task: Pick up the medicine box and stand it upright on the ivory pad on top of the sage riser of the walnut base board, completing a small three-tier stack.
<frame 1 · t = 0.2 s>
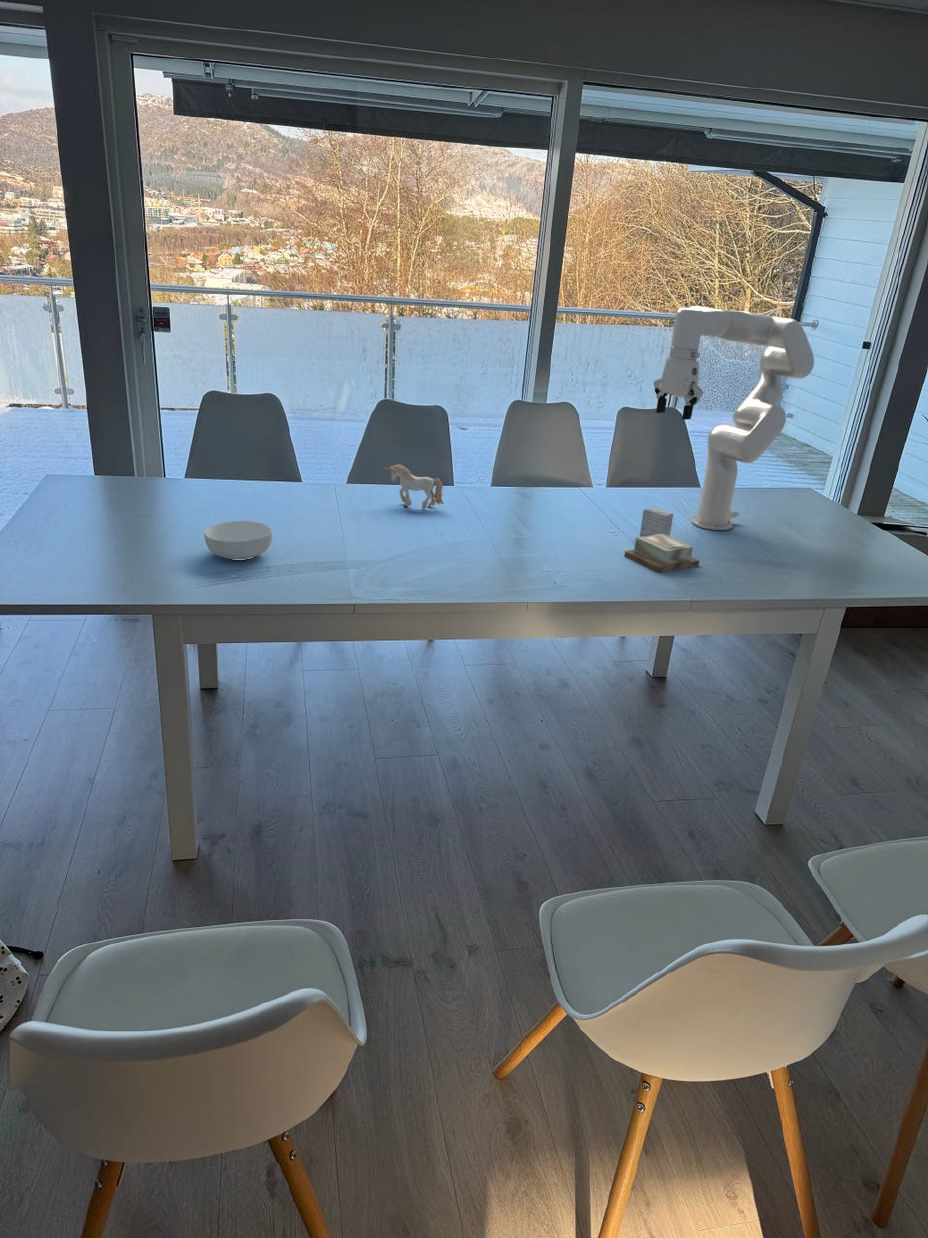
hand: (673, 415, 255), 36 cm above the table, tool pointing down, fingers open, 9 cm apart
unicorn figurine: (412, 509, 277), on the table
medicine box: (654, 539, 265), on the table
cereal bowl: (239, 556, 231), on the table
base board: (661, 560, 247), on the table
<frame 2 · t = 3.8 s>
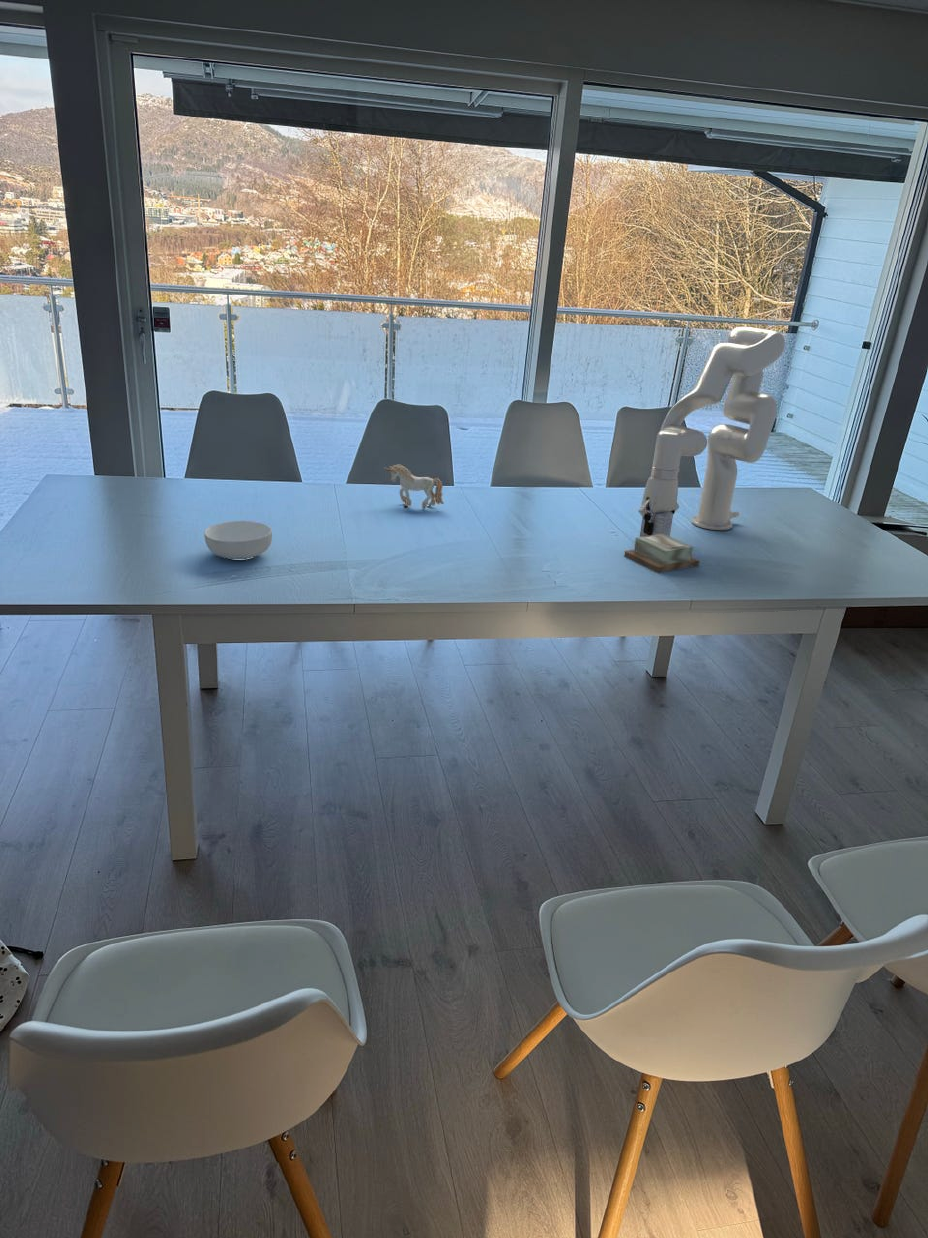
hand: (655, 532, 264), 2 cm above the table, tool pointing down, fingers closed on medicine box, 5 cm apart
medicine box: (654, 539, 265), on the table, touching gripper
everything else where it was.
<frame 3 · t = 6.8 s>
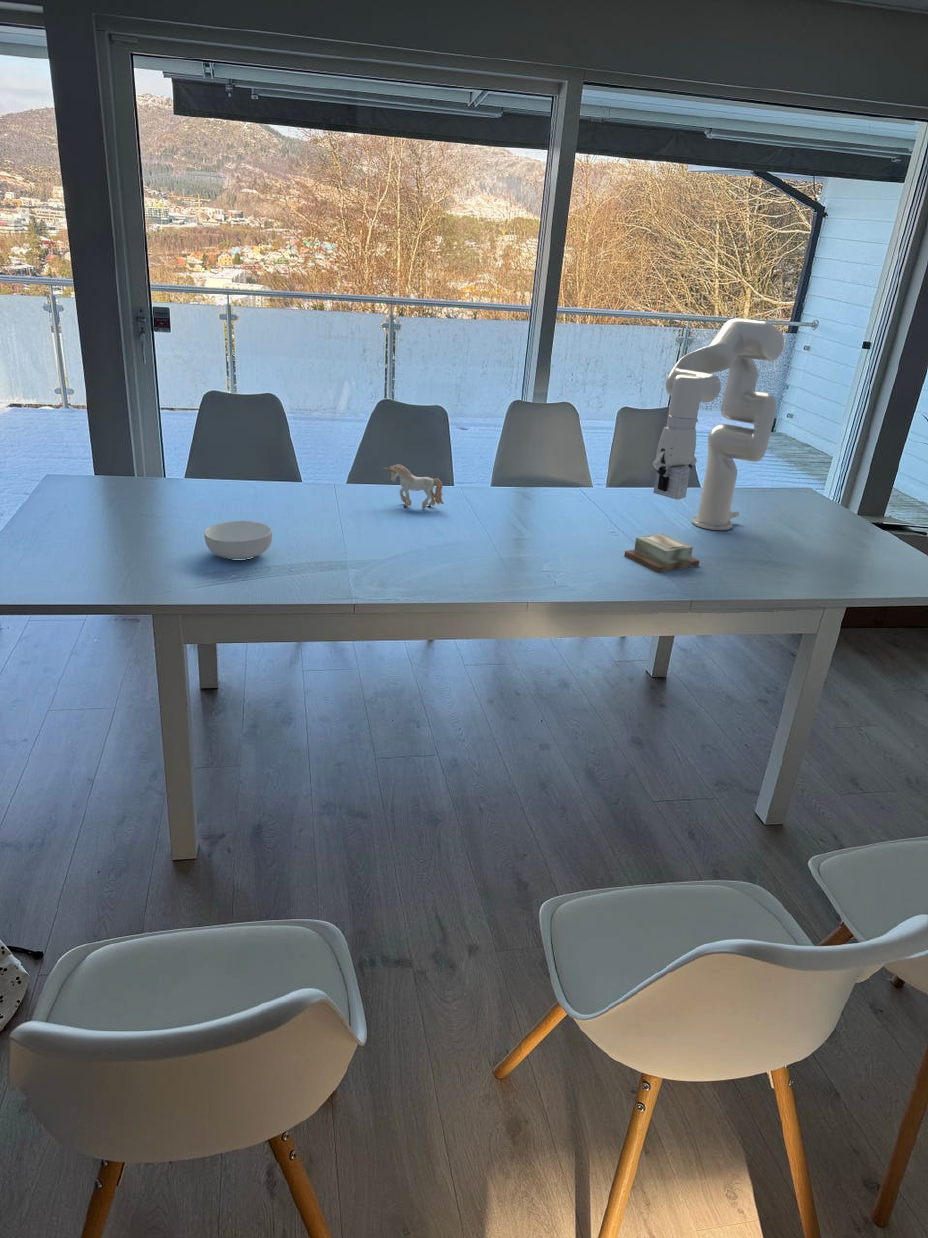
hand: (670, 488, 242), 20 cm above the table, tool pointing down, fingers closed on medicine box, 5 cm apart
medicine box: (669, 496, 243), point 18 cm above the table, touching gripper
everything else where it was.
when the fingers open (9 cm above the table, at t = 10.1 s): medicine box drops 1 cm, resting on base board.
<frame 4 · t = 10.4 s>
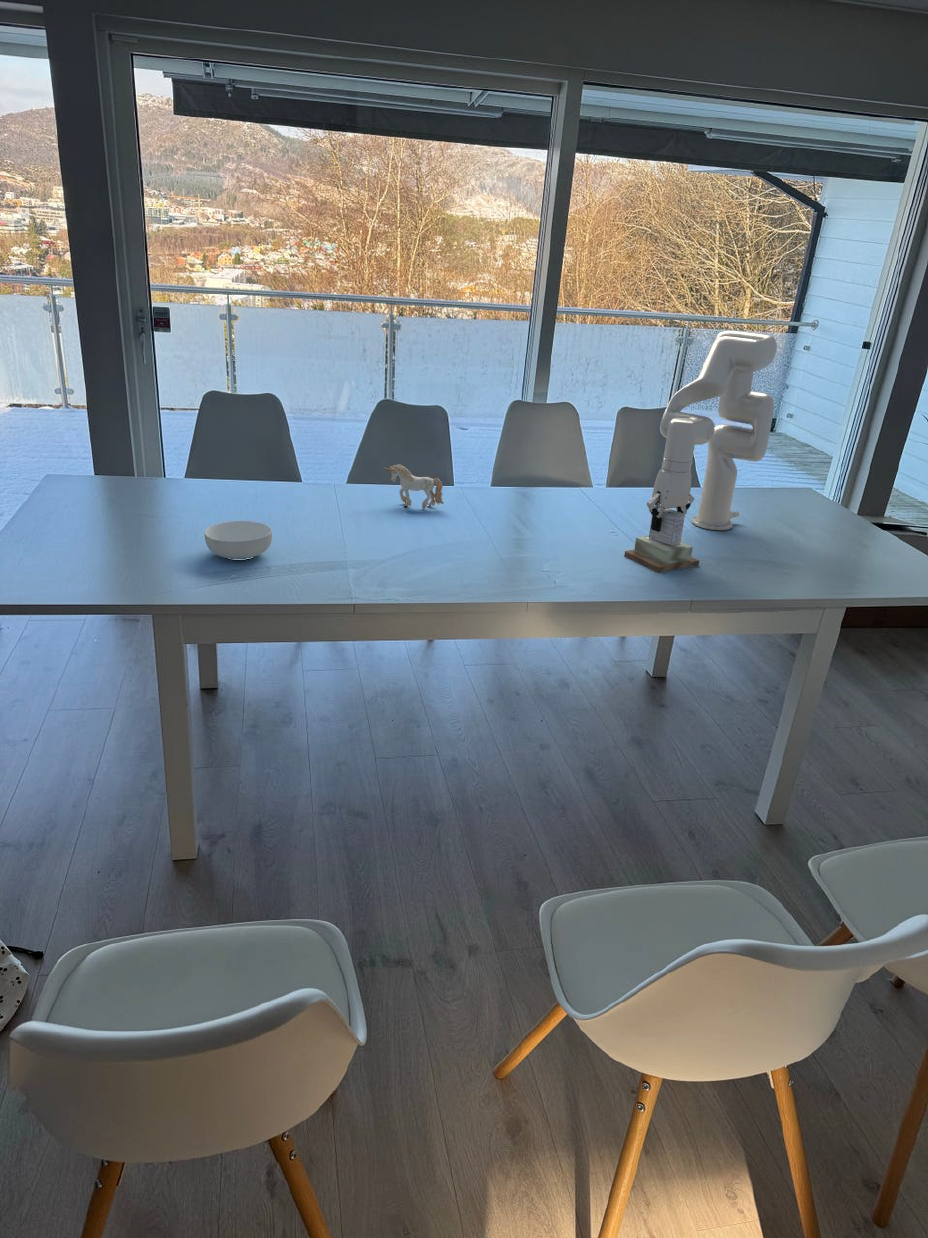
hand: (666, 528, 244), 10 cm above the table, tool pointing down, fingers open, 7 cm apart
medicine box: (664, 541, 245), point 6 cm above the table, touching base board
everything else where it was.
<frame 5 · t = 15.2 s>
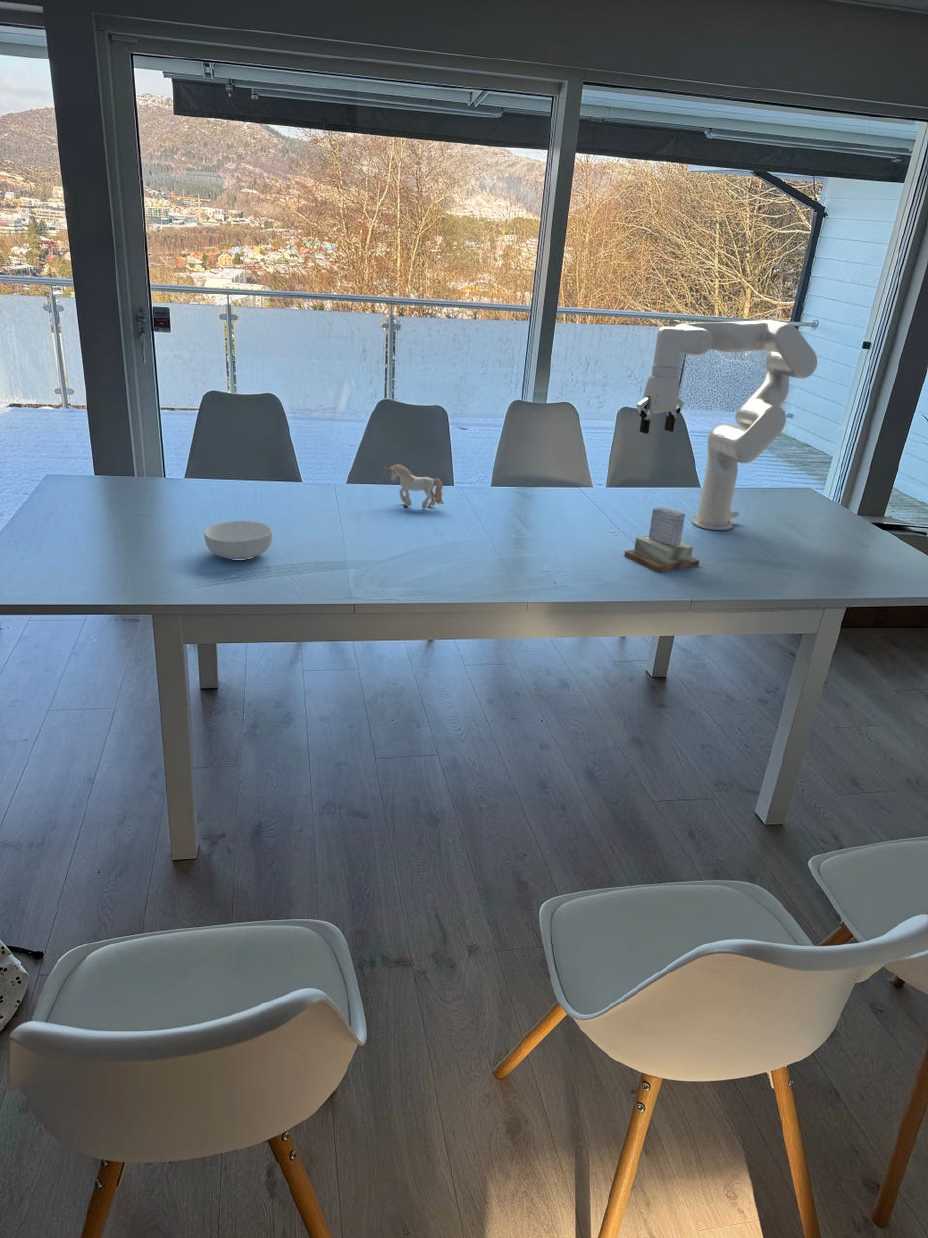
hand: (656, 431, 260), 30 cm above the table, tool pointing down, fingers open, 9 cm apart
nothing on the table moved.
at the end: medicine box inside the target area on the base board (0.1 cm from its centre), point 5.5 cm above the base board's base; medicine box tilted 0°; the gripper is holding nothing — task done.
